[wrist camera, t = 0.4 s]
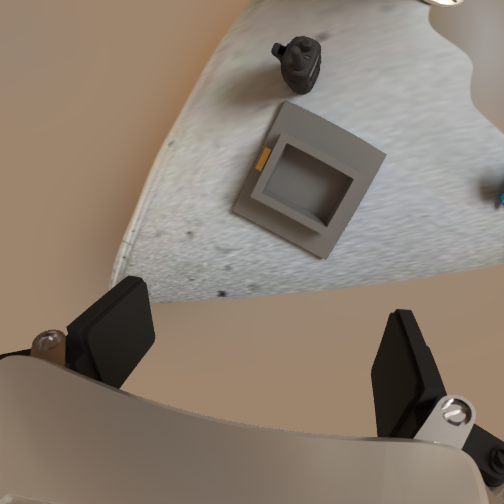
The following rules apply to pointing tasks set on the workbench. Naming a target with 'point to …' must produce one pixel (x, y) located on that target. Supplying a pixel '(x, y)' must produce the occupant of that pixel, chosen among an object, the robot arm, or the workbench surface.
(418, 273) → the workbench surface
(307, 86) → the two-way radio
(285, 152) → the charging cradle
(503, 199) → the blue branched piece
